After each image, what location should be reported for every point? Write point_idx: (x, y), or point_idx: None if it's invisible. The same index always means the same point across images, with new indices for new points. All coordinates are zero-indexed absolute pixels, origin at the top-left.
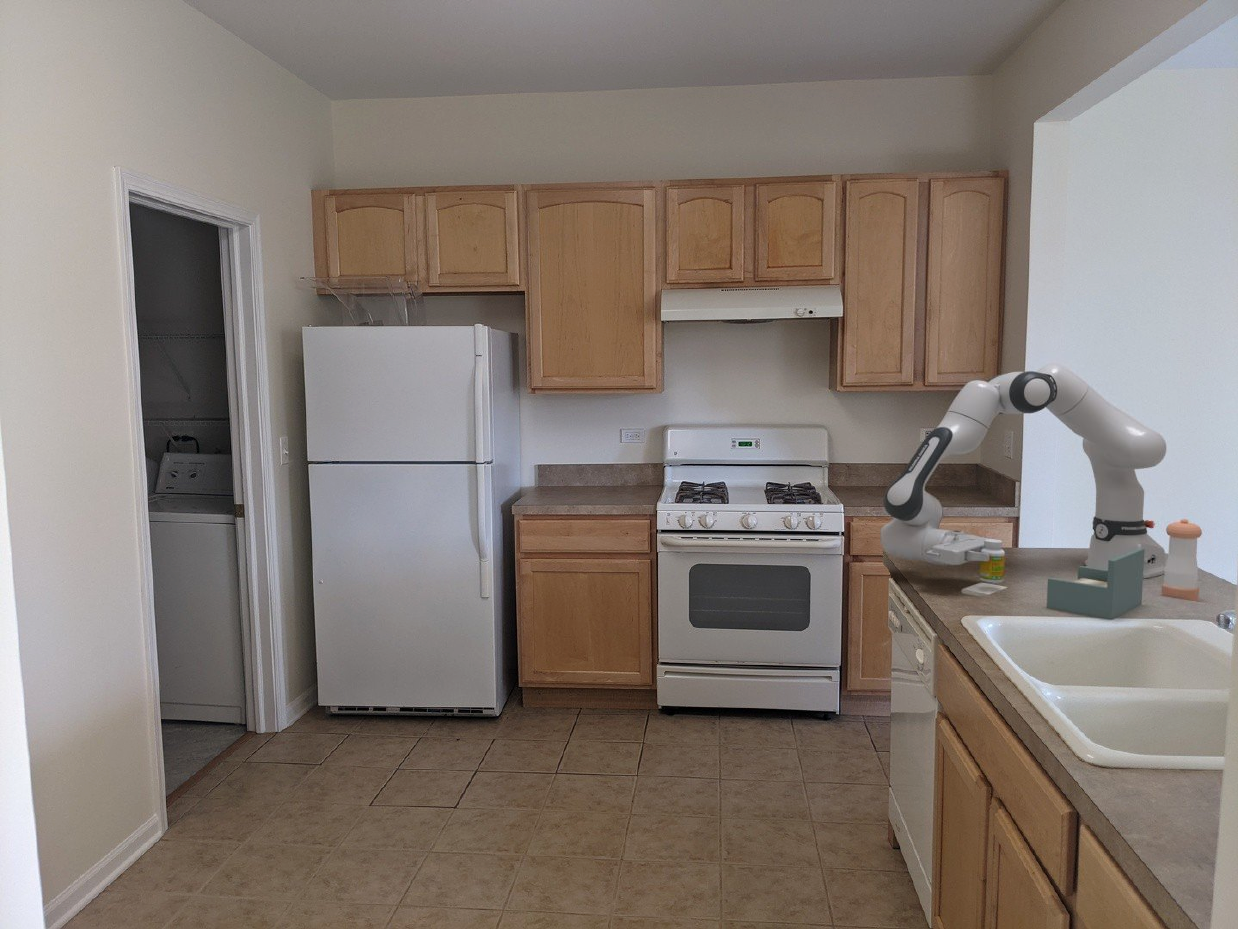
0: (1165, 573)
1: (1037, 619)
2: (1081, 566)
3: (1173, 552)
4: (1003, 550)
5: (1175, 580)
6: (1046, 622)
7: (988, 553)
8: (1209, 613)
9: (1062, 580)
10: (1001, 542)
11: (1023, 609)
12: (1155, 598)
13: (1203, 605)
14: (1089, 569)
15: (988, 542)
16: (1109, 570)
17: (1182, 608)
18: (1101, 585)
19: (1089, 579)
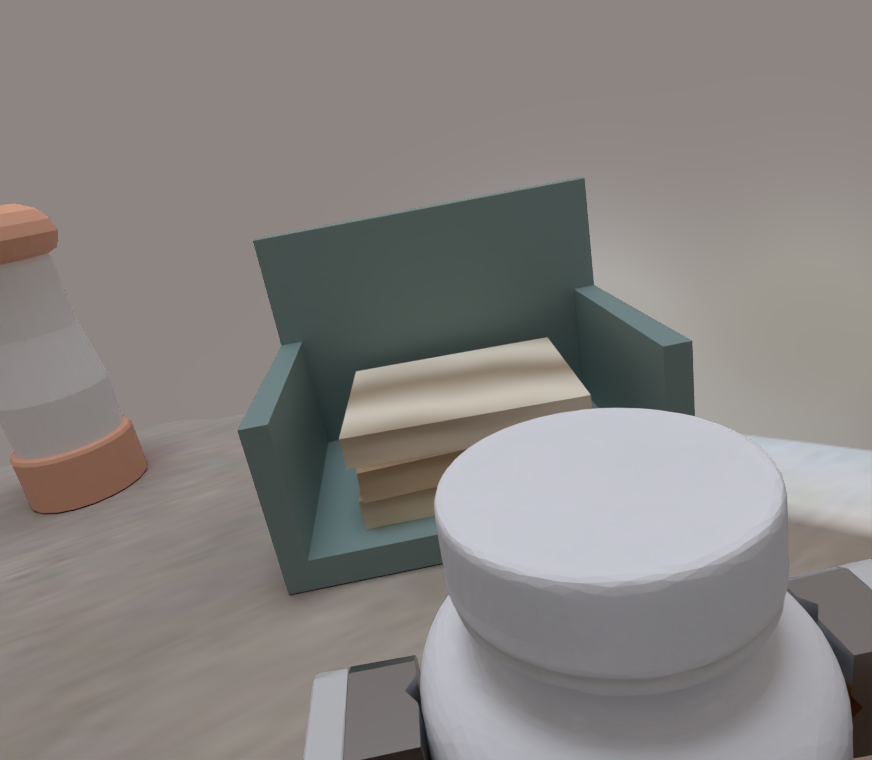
0: (65, 408)
1: (809, 484)
2: (249, 424)
3: (54, 316)
4: (324, 674)
5: (109, 404)
6: (798, 458)
7: (813, 585)
8: (225, 418)
9: (650, 324)
10: (549, 422)
11: None
12: (85, 514)
13: None
14: (278, 407)
15: (766, 468)
16: (585, 217)
17: (203, 447)
18: (429, 376)
19: (347, 422)
